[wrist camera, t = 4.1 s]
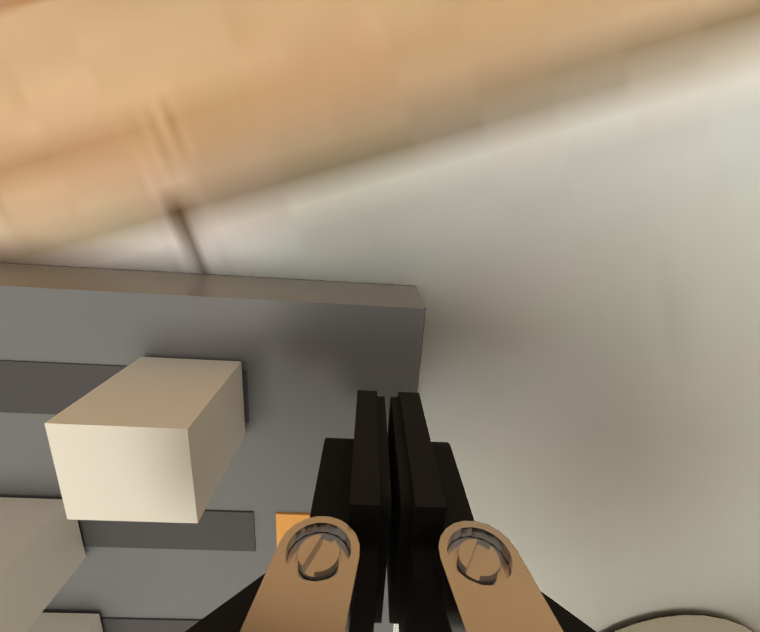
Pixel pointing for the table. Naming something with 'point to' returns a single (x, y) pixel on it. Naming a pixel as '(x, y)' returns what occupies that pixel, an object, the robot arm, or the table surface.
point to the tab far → (67, 623)
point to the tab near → (149, 441)
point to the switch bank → (261, 412)
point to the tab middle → (34, 557)
